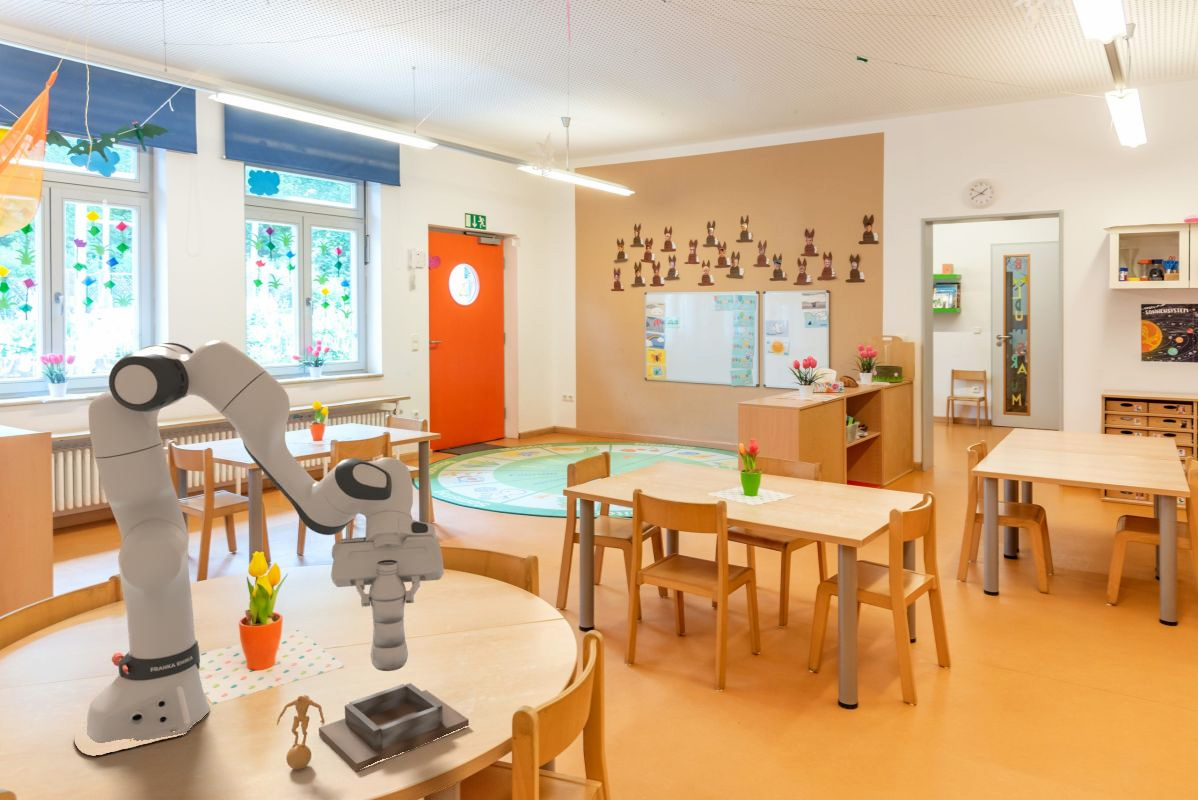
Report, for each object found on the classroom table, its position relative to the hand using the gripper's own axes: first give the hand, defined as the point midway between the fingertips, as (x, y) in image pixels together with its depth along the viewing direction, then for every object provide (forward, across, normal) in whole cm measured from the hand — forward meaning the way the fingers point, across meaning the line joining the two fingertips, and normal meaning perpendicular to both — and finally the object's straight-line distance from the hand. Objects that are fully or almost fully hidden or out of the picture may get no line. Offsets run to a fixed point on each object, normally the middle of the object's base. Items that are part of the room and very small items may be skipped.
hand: (387, 603), depth 150 cm
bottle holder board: (+17, 0, +17) cm, 24 cm away
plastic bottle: (+8, 0, +10) cm, 13 cm away
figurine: (+23, -15, +12) cm, 30 cm away
